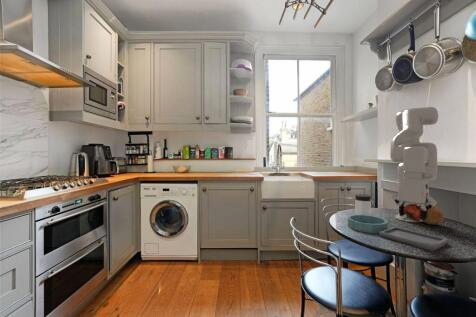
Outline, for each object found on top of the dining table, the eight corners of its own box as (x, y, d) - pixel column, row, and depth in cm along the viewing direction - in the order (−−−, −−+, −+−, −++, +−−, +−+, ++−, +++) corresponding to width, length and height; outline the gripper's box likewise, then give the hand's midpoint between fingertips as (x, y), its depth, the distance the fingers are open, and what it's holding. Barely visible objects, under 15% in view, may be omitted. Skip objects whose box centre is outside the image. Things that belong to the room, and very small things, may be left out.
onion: (448, 226, 123) (449, 206, 123) (433, 228, 120) (434, 208, 120) (428, 220, 132) (428, 202, 132) (414, 222, 129) (415, 203, 129)
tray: (394, 230, 117) (394, 226, 117) (447, 243, 100) (447, 239, 100) (379, 236, 109) (379, 231, 109) (434, 251, 92) (434, 246, 92)
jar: (374, 216, 141) (374, 196, 141) (365, 218, 137) (366, 197, 137) (360, 213, 149) (360, 193, 149) (351, 215, 145) (351, 194, 145)
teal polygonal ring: (360, 220, 134) (360, 213, 133) (393, 228, 119) (393, 220, 119) (341, 225, 124) (341, 217, 124) (375, 235, 110) (375, 226, 110)
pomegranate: (413, 228, 100) (434, 214, 100) (401, 214, 101) (421, 199, 101) (403, 225, 107) (422, 211, 107) (392, 211, 108) (411, 198, 108)
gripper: (442, 177, 98) (441, 221, 99) (395, 173, 113) (394, 212, 113) (435, 178, 94) (433, 224, 95) (387, 174, 109) (386, 214, 109)
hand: (412, 217), depth 104 cm, fingers closed on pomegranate, 7 cm apart
